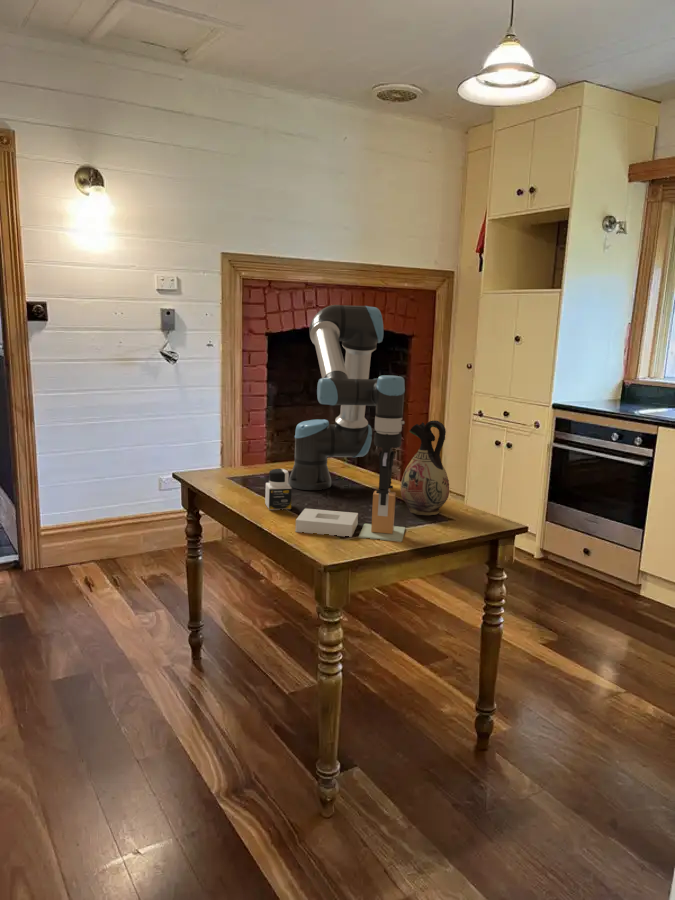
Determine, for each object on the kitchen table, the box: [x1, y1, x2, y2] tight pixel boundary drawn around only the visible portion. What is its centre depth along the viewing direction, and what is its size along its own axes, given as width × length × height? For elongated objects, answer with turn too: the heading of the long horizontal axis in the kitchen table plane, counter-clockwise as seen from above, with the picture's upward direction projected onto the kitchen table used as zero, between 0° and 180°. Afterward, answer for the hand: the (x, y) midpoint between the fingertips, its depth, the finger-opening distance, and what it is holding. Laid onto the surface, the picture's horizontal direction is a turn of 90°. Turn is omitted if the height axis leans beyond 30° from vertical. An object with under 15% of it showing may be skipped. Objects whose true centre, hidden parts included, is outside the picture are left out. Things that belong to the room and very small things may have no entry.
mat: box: [358, 523, 406, 543], centre depth 195 cm, size 12×12×1 cm
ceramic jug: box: [400, 420, 450, 516], centre depth 214 cm, size 17×15×30 cm
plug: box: [371, 490, 397, 534], centre depth 194 cm, size 4×6×11 cm, turn 80°
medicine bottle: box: [264, 468, 293, 511], centre depth 215 cm, size 7×7×12 cm
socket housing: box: [295, 507, 359, 538], centre depth 197 cm, size 12×16×4 cm
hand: (383, 513), depth 194 cm, fingers closed on plug, 4 cm apart
